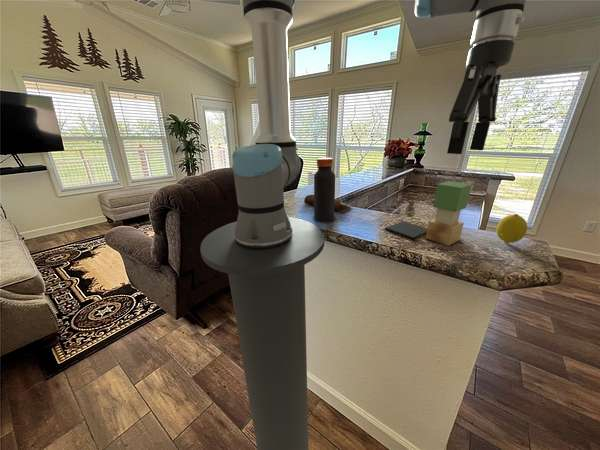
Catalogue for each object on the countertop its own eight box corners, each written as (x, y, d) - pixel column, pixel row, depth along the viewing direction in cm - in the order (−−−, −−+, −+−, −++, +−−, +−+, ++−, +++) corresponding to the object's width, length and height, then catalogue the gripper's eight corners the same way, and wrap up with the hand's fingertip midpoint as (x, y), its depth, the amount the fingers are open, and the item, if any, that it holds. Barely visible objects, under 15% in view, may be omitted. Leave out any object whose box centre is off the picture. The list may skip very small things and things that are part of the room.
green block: (432, 206, 61) (437, 183, 59) (443, 203, 64) (448, 181, 62) (455, 212, 57) (461, 187, 54) (466, 207, 60) (471, 184, 57)
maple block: (425, 238, 64) (428, 221, 63) (436, 232, 67) (440, 216, 66) (448, 246, 60) (452, 227, 58) (459, 239, 63) (463, 222, 61)
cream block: (434, 221, 62) (437, 206, 61) (442, 218, 64) (445, 204, 63) (450, 225, 59) (453, 210, 58) (457, 222, 61) (461, 207, 60)
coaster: (385, 229, 71) (385, 227, 70) (403, 222, 75) (403, 220, 75) (412, 239, 64) (413, 237, 64) (430, 231, 68) (431, 229, 68)
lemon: (493, 237, 64) (502, 209, 61) (520, 242, 60) (531, 213, 57) (492, 244, 60) (501, 214, 57) (521, 250, 57) (532, 219, 54)
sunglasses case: (352, 206, 90) (348, 194, 86) (343, 219, 88) (338, 207, 83) (316, 199, 102) (311, 187, 98) (307, 210, 99) (301, 198, 95)
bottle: (312, 216, 83) (311, 158, 76) (330, 214, 84) (331, 157, 77) (317, 223, 77) (317, 160, 70) (336, 221, 78) (338, 159, 71)
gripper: (494, 22, 38) (463, 156, 46) (530, 50, 53) (501, 149, 61) (445, 36, 44) (425, 154, 52) (489, 58, 58) (467, 148, 66)
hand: (465, 151), depth 56 cm, fingers open, 13 cm apart
